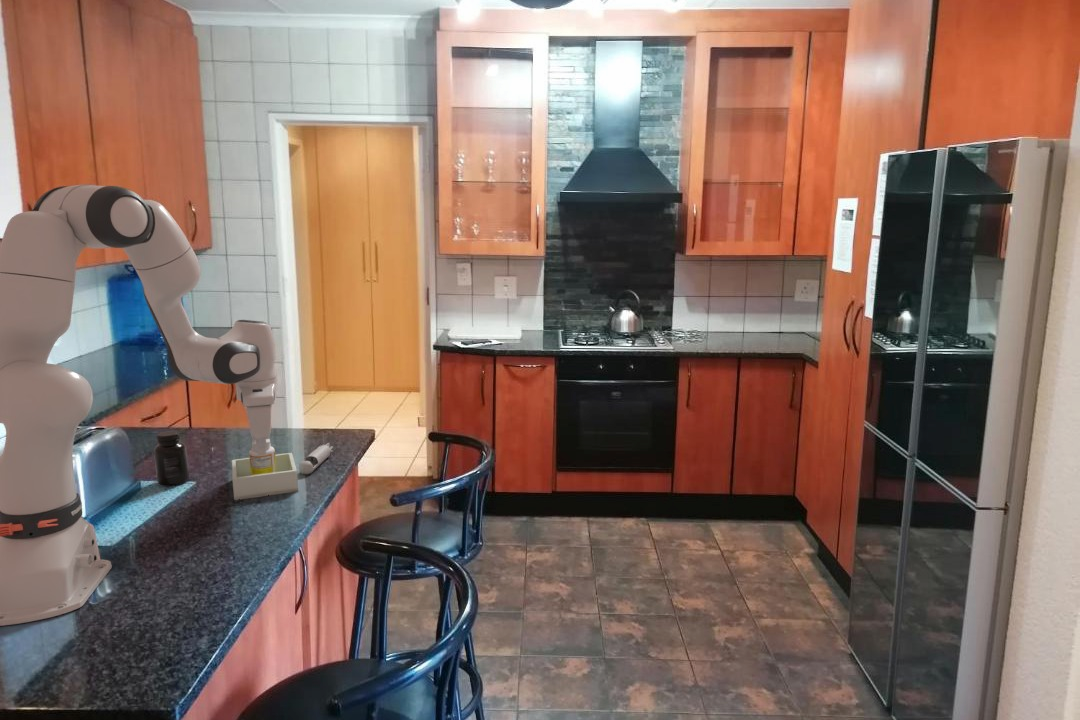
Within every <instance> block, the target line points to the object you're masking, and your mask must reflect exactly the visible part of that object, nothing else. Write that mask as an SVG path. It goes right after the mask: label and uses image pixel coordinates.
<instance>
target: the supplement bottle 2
mask: <svg viewBox="0 0 1080 720" xmlns="http://www.w3.org/2000/svg"><path fill="white" fill-rule="evenodd" d="M251 447H252V448H251V449H250V450H249V452H248V455H249V458H250V467H251V475H259V474H266V473H274V472H276V461H275V455H276V450H275V448H274V447H273V446H272V444H271V439H270V438H269V439H266V454H265V455H258V454H257V445H256V440H253V439H252V441H251Z"/></svg>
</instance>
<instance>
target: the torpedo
mask: <svg viewBox="0 0 1080 720" xmlns="http://www.w3.org/2000/svg"><path fill="white" fill-rule="evenodd" d="M324 435H325V434H322V438H323V444H321V445H318V447H317V448H316V449H314V450H313V451H312V452H311V453H310V454H309V455H307V456H306V457H305V458H304V460H301V462H299V466H298V470H299V473H300V474H302V475H310V474H312V473H313V472H314V471H315V470H316V469H317V468H318V467H319V466H320V465H321V464H322V463H324V461H326V460H327V458H329V456H331V453H332V452H333V450H332V449H333V446H330V445H331V444H330V442H328V443H326V444H325V439H324ZM313 466H314V467H313Z"/></svg>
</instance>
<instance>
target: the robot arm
mask: <svg viewBox="0 0 1080 720" xmlns="http://www.w3.org/2000/svg"><path fill="white" fill-rule="evenodd" d="M85 248H88V249H100V250H102V249H110V248H111V249H112V248H114V249H122V251H123V252H125V254H126V256H127V258H128V259H129V262H130V264H132V265H131V266H132V267H133V269H134V270H135V271H136V274H137V276H138V278H139V279H140V282H141V284H142V292H143V298H144V299H145V302H146V304H147V306H148V310H149V312H150V314H151V315H152V316H151V317H152V318H153V321H154V322H155V324H156V326H157V329H158V331H159V333H160V336H161V337H162V339H163V342H164V344H165V347H166V351H167V353H166V354H167V359H168V362H169V366H170V369H171V370H172V372H173V374H174V375H176V377H178V378H179V379H180V380H183V381H188V382H191V381H193V382H203V383H204V382H205V383H212V384H221V385H232V384H235V390H236V391H235V393H236V400H238V401H239V402H240V403H242V404H241V405H242V407H244V409H245V411H246V415H247V420H248V426H249V431H250V435H251V439H252V441H253V440H256V445H257V454H258V455H265V454H266V439H270V436H271V430H272V429H271V427H272V410H273V405H274V404H275V400H276V399H277V397H278V396H279V391H278V377H277V376H278V374H277V372H276V369H275V361H276V359H277V358H276V357H277V355H276V344H275V343H276V342H275V337H274V332H273V330H272V326H271V325H270V324H269V323H268V322H265V321H263V320H262V321H258V320H251V319H238V320H236V321H234V324H233V326H232V327H231V328H230V329H229V330H228V331H227V332H226V333H225V334H223V335H221V336H220V337H218V338H214V337H206V336H204V335H202V334H199V333H198V332H197V331H195V329H194V327H193V326H192V324H191V322H190V319H189V316H188V314H187V312H186V310H185V307H184V306H183V303H182V298H183V297H184V296H186V295H187V294H189V293H190V292H191V291H193V290H194V289H195V287H196V286H197V285H198V282H199V281H200V277H201V275H202V274H201V273H202V269H201V266H200V262H199V258H198V257H197V255H196V253H195V250H194V248H193V247H192V246H191V243H190V242H189V240H188V238H187V236H186V234H185V233H184V231H183V230H182V229H181V227H180V226H179V224H178V222H176V220H175V219H174V217H173V216H172V214H171V213H170V212H169V211H168V210H167V208H166V206H164V205H162V204H161V203H160V202H158V201H155V200H153V199H143V197H142V196H140V195H139V194H138V193H136V192H135V191H132V190H131V189H127V188H126V187H122V186H117V185H106V186H105V185H95V184H86V183H85V184H78V185H77V184H75V185H70V186H67V185H65V186H64V185H63V186H58V187H54V188H52V189H49V190H48V191H46V192H45V193H42V195H41V196H40V197H39V198H38V199H37V201H36V202H35V205H34V206H33V209H32V210H31V211H23V212H20V213H17V214H15V215H14V216H13V217H11V218H10V220H9V221H8V222H7V224H6V227H5V229H4V233H3V237H2V239H1V241H0V424H3V426H4V428H5V440H4V441H5V443H4V448H3V452H2V454H1V455H0V627H1V626H10V625H18V624H24V623H30V622H34V621H40V620H41V621H42V620H44V619H49V618H53V617H56V616H57V617H58V616H61V615H63V614H66V613H69V612H73V611H74V610H77V609H80V608H81V607H83V606H84V604H85V603H86V602H87V601H88V599H89V598H90V596H91V595H92V594H93V592H94V591H95V590H96V589H97V588H98V586H99V585H100V583H101V582H102V581H103V580H104V578H105V577H106V576H107V574H108V573H109V572H110V570H111V569H112V566H113V565H112V562H111V561H110V560H107V559H102V558H101V555H100V550H99V545H98V539H97V535H96V529H95V526H94V524H92V523H90V522H89V521H87V520H86V519H85V518H84V517H83V516H82V515H83V505H82V500H81V495H80V494H79V492H77V488H76V479H75V471H74V470H75V469H74V462H73V451H74V441H75V437H76V432H77V430H78V426H79V425H80V423H82V421H84V420H85V419H86V418H87V416H88V415H89V413H90V412H91V409H92V407H93V402H94V401H93V400H94V394H93V389H92V387H91V385H90V383H89V381H88V380H87V379H86V378H85V377H84V376H83V375H81V374H79V373H77V372H75V371H73V370H71V369H69V368H67V367H64V366H63V365H59V364H55V363H54V364H53V363H49V362H48V359H49V357H50V354H51V351H52V350H53V348H54V345H55V344H56V343H57V341H58V340H59V338H60V337H62V336H63V335H64V334H66V332H67V331H68V330H69V328H70V326H71V321H72V320H71V319H72V310H73V303H74V294H75V285H76V272H77V262H78V259H79V257H80V255H81V253H82V252H83V250H84V249H85Z"/></svg>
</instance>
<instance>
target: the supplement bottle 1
mask: <svg viewBox="0 0 1080 720" xmlns="http://www.w3.org/2000/svg"><path fill="white" fill-rule="evenodd" d="M156 442H157V445H155V447H154V448H153V456H154V463H155V472H156V482H157V484H158V485H159V486H161V487H174V486H173V485H175V486H178V485H179V486H180V485H182V484H185V483H187V482H188V481H189V479H190V471H189V462H188V455H187V454H188V453H187V452H188V451H187V445H185V443H184V442H182V441H181V434H180V431H178V430H166V431H162V432H159V433H157V434H156Z"/></svg>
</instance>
